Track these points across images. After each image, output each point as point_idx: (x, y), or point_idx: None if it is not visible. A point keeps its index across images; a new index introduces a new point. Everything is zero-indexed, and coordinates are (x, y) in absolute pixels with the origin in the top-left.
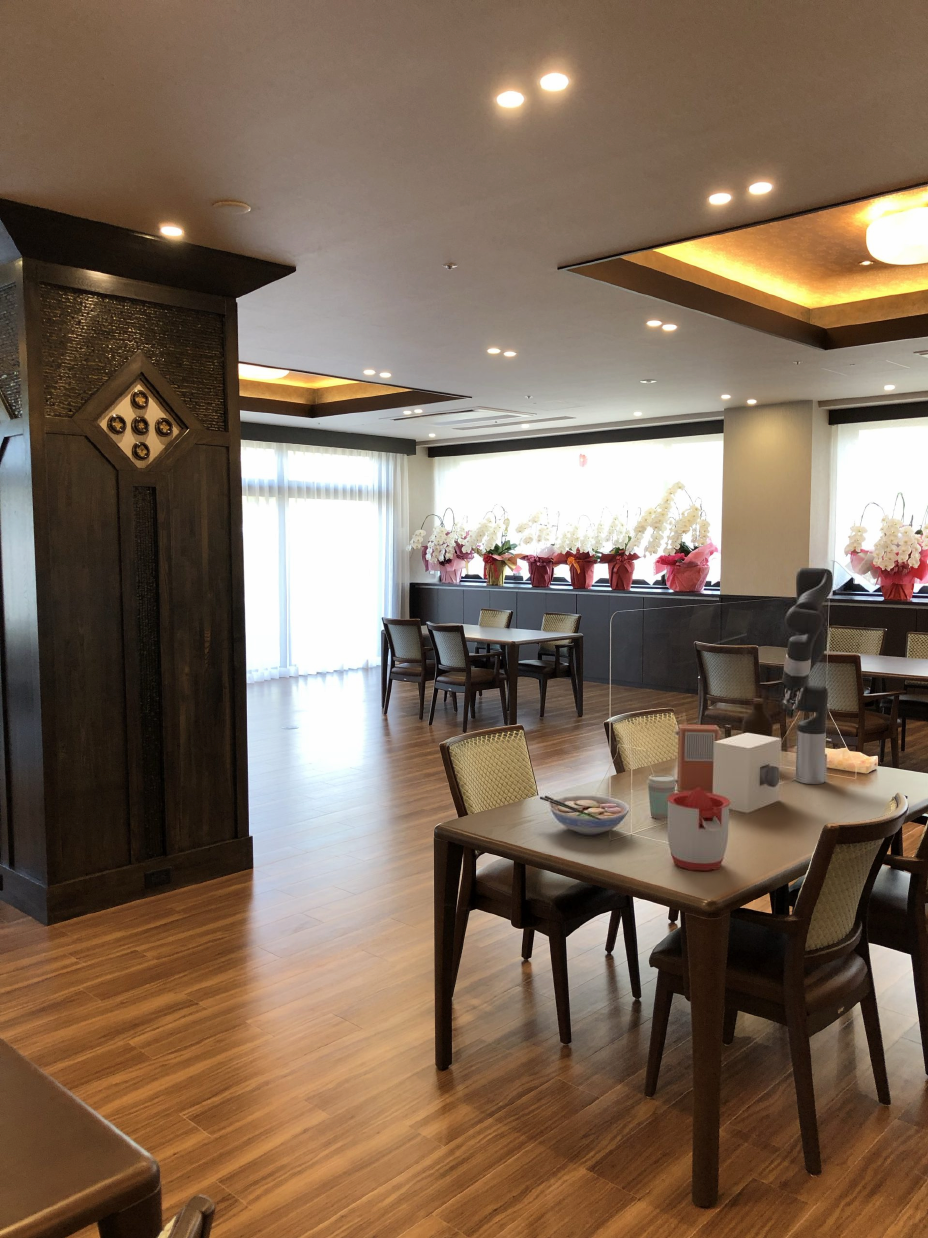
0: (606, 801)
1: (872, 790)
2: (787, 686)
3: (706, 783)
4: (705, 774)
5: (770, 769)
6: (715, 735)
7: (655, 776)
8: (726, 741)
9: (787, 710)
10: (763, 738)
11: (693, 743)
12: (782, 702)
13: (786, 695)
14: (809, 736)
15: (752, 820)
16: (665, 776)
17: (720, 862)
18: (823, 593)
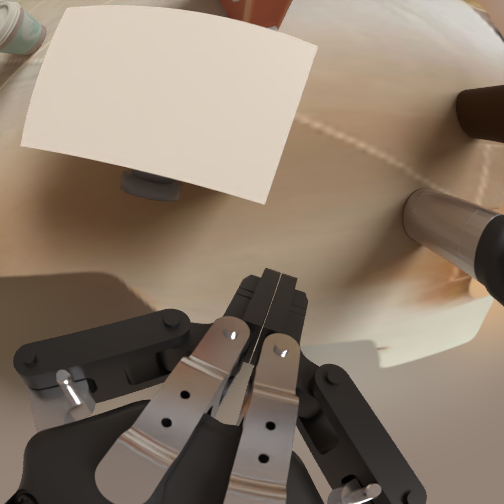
0: None
1: (392, 318)
2: (12, 497)
3: (232, 14)
4: (231, 3)
5: (125, 185)
6: None
7: (6, 6)
8: (85, 31)
9: (227, 309)
10: (220, 130)
11: None
12: (58, 342)
13: (35, 419)
14: (471, 248)
15: (72, 167)
16: (7, 16)
17: None
18: None
